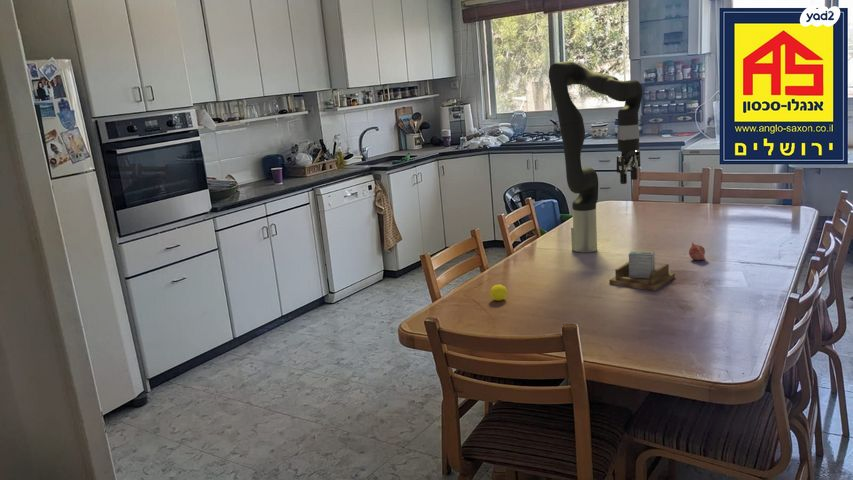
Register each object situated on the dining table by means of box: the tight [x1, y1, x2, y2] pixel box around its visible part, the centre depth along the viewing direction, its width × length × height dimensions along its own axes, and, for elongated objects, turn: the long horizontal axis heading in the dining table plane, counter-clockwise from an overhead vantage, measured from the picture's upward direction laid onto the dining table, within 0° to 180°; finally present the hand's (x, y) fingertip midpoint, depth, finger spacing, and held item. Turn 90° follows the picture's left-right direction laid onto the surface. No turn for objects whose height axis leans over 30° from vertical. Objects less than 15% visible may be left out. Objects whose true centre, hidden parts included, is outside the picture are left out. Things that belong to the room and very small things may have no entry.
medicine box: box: [628, 250, 656, 279], centre depth 226 cm, size 8×4×9 cm, turn 64°
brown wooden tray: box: [609, 261, 676, 292], centre depth 227 cm, size 16×16×5 cm
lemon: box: [489, 284, 508, 302], centre depth 220 cm, size 7×5×5 cm
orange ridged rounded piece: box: [688, 242, 707, 261], centre depth 244 cm, size 8×8×6 cm
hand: (628, 181), depth 243 cm, fingers open, 8 cm apart
